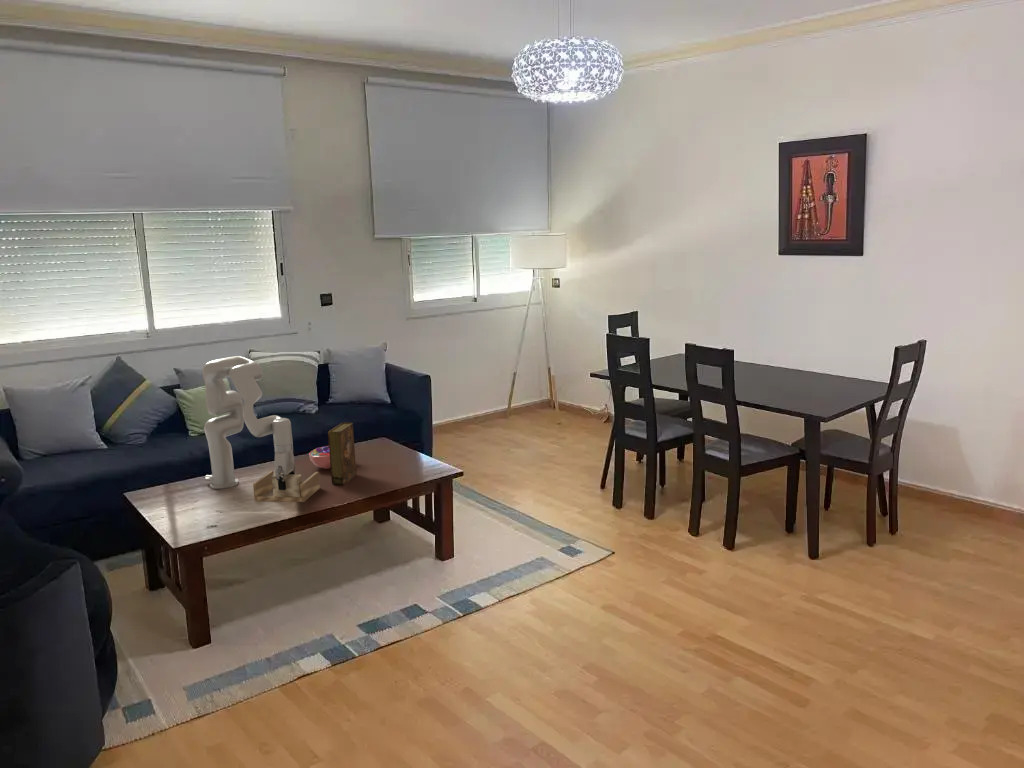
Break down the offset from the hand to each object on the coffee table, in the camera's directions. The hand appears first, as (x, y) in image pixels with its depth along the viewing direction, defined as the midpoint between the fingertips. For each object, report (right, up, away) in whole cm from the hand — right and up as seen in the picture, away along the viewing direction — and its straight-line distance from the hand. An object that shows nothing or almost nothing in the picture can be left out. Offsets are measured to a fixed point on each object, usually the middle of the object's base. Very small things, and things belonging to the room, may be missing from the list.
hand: (287, 485), depth 330 cm
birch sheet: (0, -6, +1) cm, 6 cm away
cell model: (+8, +3, +45) cm, 46 cm away
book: (+19, -1, +25) cm, 32 cm away
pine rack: (-2, -5, +7) cm, 9 cm away
